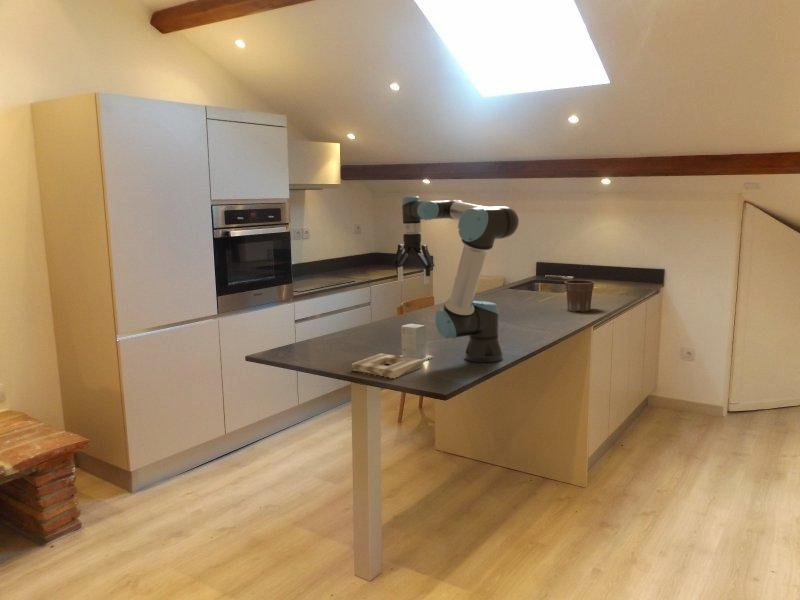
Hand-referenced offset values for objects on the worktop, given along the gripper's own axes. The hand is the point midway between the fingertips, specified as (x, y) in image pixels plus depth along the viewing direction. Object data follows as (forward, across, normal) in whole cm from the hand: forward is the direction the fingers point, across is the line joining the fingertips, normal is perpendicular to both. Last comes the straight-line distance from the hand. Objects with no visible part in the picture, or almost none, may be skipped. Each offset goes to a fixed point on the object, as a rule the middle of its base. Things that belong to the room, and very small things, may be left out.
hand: (413, 283), depth 269 cm
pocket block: (+29, +10, -33) cm, 45 cm away
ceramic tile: (+29, +10, -15) cm, 34 cm away
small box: (+28, +10, -15) cm, 33 cm away
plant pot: (+29, +29, +117) cm, 124 cm away
